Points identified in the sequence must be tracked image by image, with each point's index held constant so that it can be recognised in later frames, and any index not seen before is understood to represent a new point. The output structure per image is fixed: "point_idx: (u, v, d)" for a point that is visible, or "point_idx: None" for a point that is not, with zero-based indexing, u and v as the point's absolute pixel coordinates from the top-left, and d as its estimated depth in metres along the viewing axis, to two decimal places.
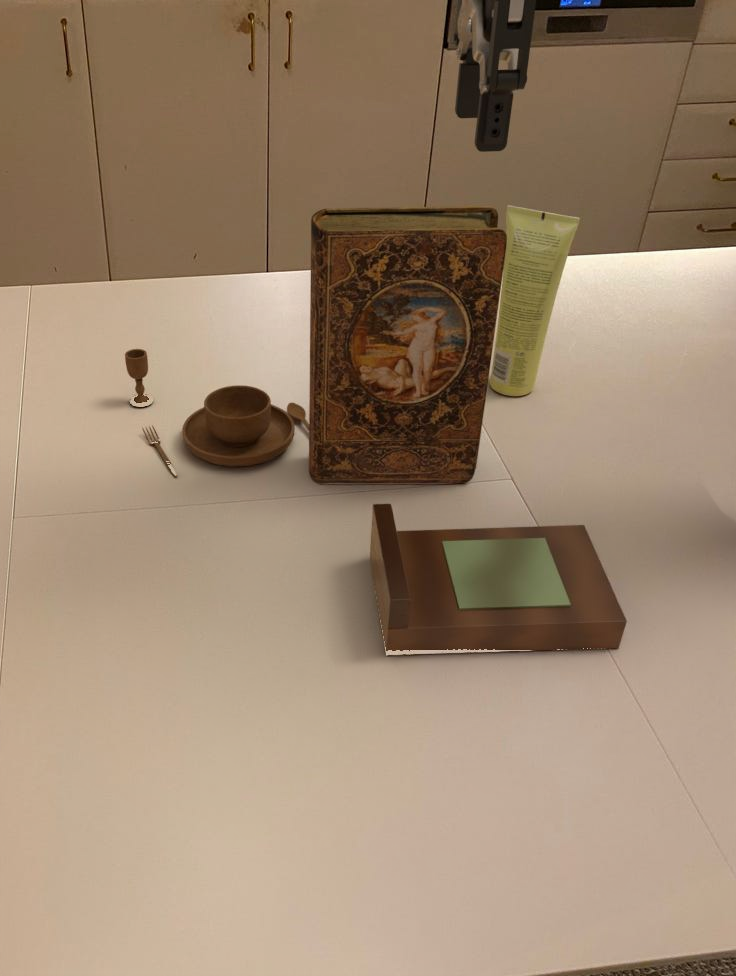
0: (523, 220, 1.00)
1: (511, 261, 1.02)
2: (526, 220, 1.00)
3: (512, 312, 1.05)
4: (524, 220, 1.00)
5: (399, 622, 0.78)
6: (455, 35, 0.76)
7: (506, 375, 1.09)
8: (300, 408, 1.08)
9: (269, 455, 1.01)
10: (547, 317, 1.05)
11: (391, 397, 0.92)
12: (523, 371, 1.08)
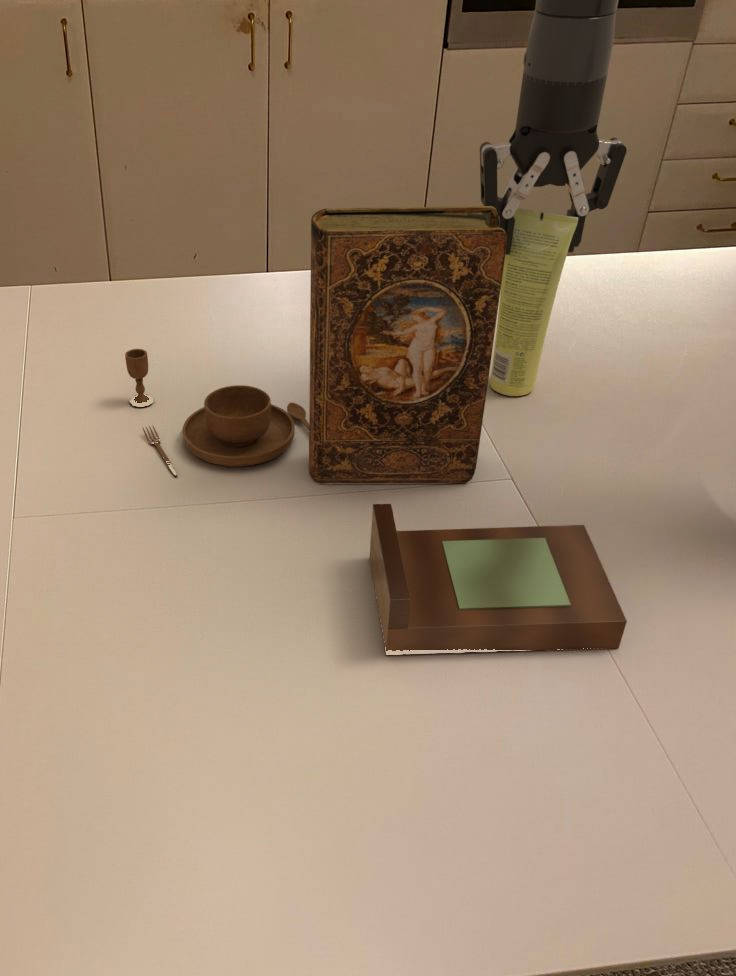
0: (522, 220, 1.00)
1: (510, 261, 1.02)
2: (524, 220, 1.00)
3: (511, 313, 1.05)
4: (523, 220, 1.00)
5: (399, 622, 0.78)
6: None
7: (506, 375, 1.09)
8: (301, 408, 1.08)
9: (269, 455, 1.01)
10: (547, 317, 1.05)
11: (391, 397, 0.92)
12: (523, 371, 1.08)
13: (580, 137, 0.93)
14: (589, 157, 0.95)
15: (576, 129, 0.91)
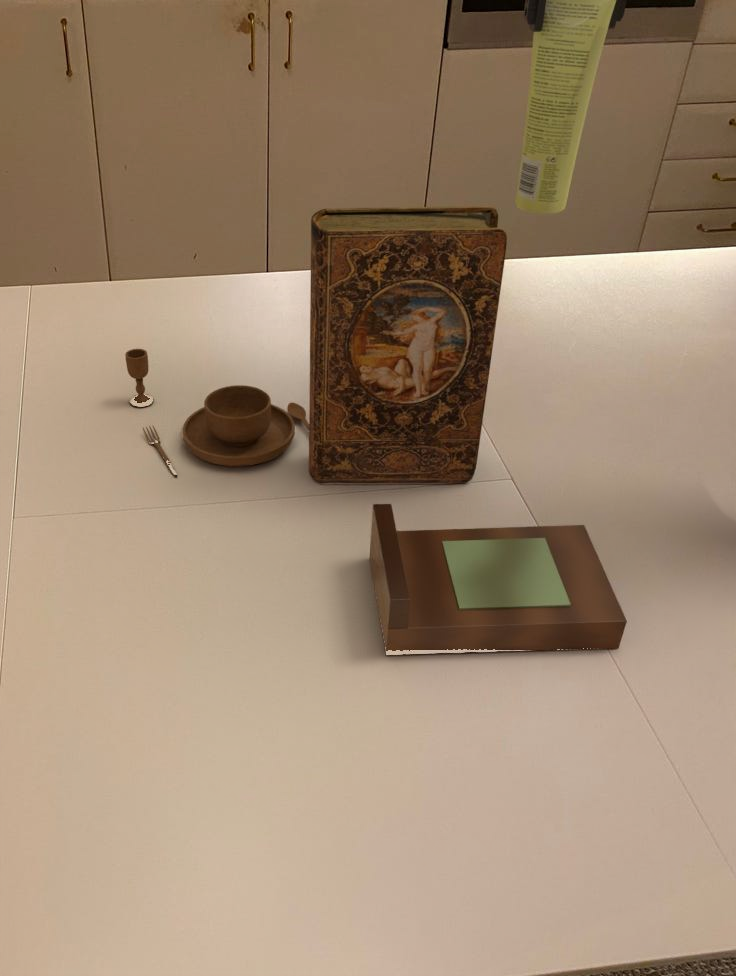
0: None
1: (541, 43, 0.89)
2: None
3: (542, 108, 0.91)
4: None
5: (399, 622, 0.78)
6: None
7: (535, 188, 0.96)
8: (301, 408, 1.08)
9: (269, 455, 1.01)
10: (583, 111, 0.91)
11: (391, 397, 0.92)
12: (554, 182, 0.95)
13: None
14: None
15: None
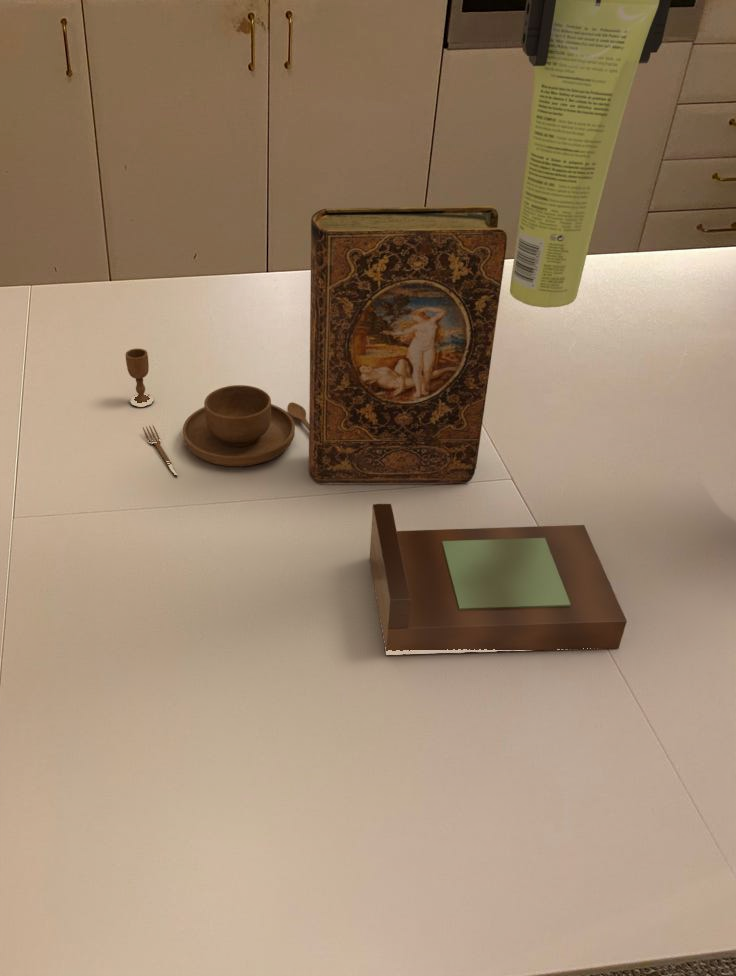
0: (566, 8, 0.62)
1: (545, 81, 0.64)
2: (570, 8, 0.62)
3: (545, 168, 0.66)
4: (567, 8, 0.62)
5: (399, 622, 0.78)
6: None
7: (535, 274, 0.71)
8: (301, 408, 1.08)
9: (269, 455, 1.01)
10: (602, 175, 0.66)
11: (391, 397, 0.92)
12: (561, 267, 0.70)
13: None
14: None
15: None
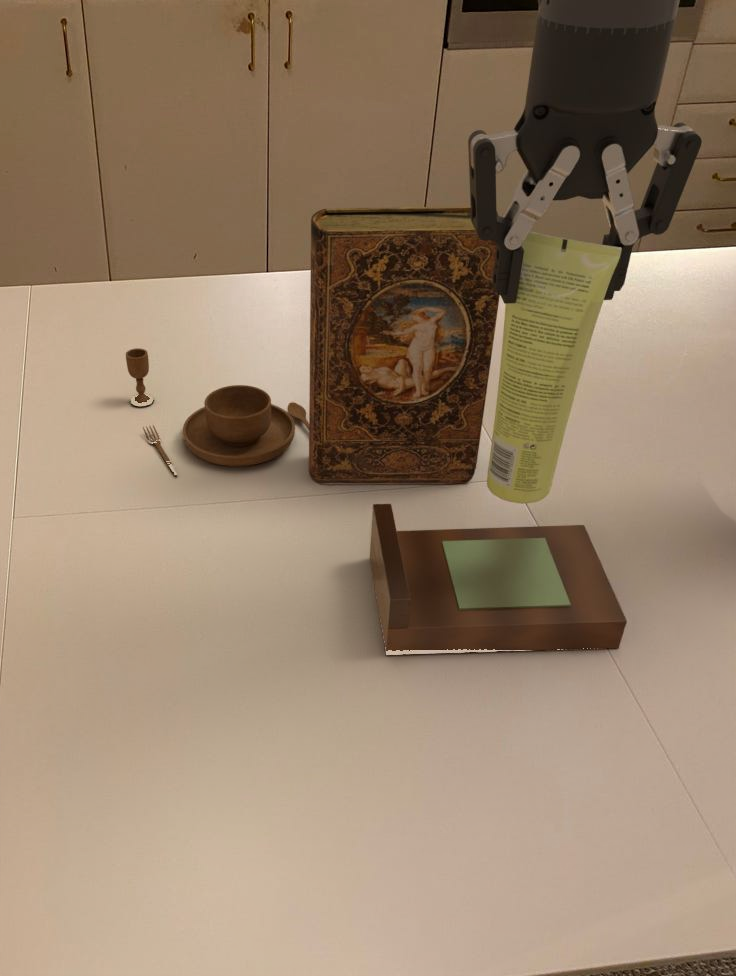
0: (534, 251, 0.65)
1: (516, 312, 0.68)
2: (538, 251, 0.65)
3: (517, 387, 0.70)
4: (535, 251, 0.65)
5: (399, 622, 0.78)
6: None
7: (510, 475, 0.74)
8: (301, 408, 1.08)
9: (269, 455, 1.01)
10: (571, 393, 0.70)
11: (391, 397, 0.92)
12: (535, 470, 0.73)
13: (628, 122, 0.58)
14: (642, 154, 0.60)
15: (624, 108, 0.56)
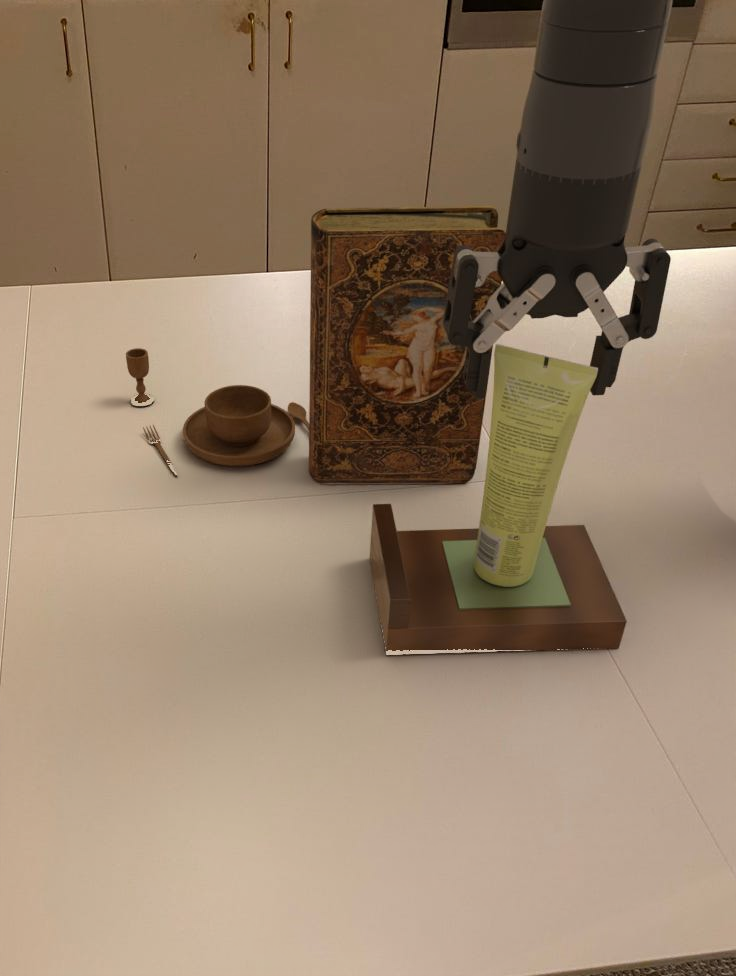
0: (518, 365, 0.71)
1: (501, 419, 0.73)
2: (522, 366, 0.71)
3: (502, 485, 0.76)
4: (519, 365, 0.71)
5: (399, 622, 0.78)
6: None
7: (495, 562, 0.80)
8: (301, 408, 1.08)
9: (269, 455, 1.01)
10: (552, 492, 0.75)
11: (391, 397, 0.92)
12: (518, 558, 0.79)
13: (600, 252, 0.64)
14: (613, 279, 0.65)
15: (595, 245, 0.61)
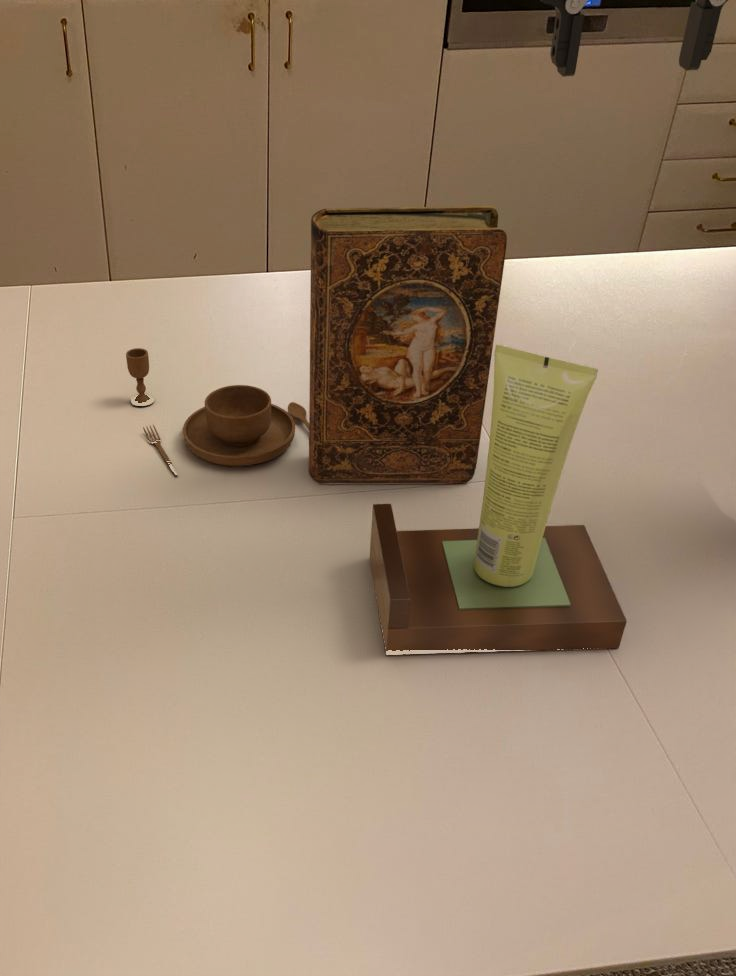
0: (518, 365, 0.71)
1: (501, 419, 0.73)
2: (522, 366, 0.71)
3: (502, 485, 0.76)
4: (519, 365, 0.71)
5: (399, 622, 0.78)
6: None
7: (495, 562, 0.80)
8: (301, 408, 1.08)
9: (269, 455, 1.01)
10: (552, 492, 0.75)
11: (391, 397, 0.92)
12: (518, 558, 0.79)
13: None
14: None
15: None
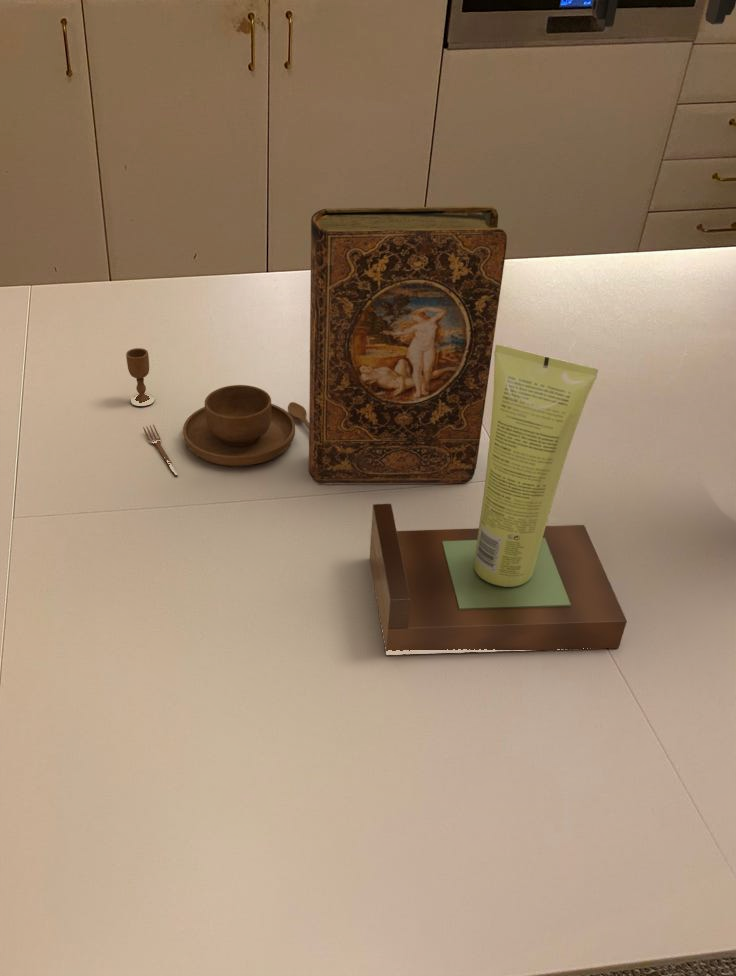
0: (518, 365, 0.71)
1: (501, 419, 0.73)
2: (522, 366, 0.71)
3: (502, 485, 0.76)
4: (519, 365, 0.71)
5: (399, 622, 0.78)
6: None
7: (495, 562, 0.80)
8: (301, 408, 1.08)
9: (269, 455, 1.01)
10: (552, 492, 0.75)
11: (391, 397, 0.92)
12: (518, 558, 0.79)
13: None
14: None
15: None
